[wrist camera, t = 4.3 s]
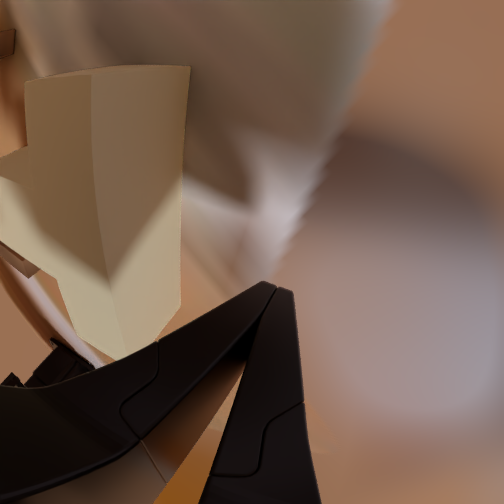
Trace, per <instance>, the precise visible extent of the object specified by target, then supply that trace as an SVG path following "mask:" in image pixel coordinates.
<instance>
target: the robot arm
mask: <svg viewBox="0 0 504 504" xmlns="http://www.w3.org/2000/svg"><path fill="white" fill-rule="evenodd" d="M49 342H50V344H51V345H52V347H53V349H54V350H53V351H52V352H51V353H50V355H48V357H46V359H45V360H44V361H43V362H42V363H41V364H40V365H39V366H38V367H37V368H36V369H35V370H34V372H33V375H32V376H31V377H30V378H29V379H28V381H27V382H26V383H25V384H24V385H23V384H22V383H21V382H20V379H19V378H18V377H17V376H15V375H14V374H13V373H12V372H11V373H10V375H9V376H8V377H7V378H6V379H5V380H4V381H3V382H2V383H1V384H0V504H153V502H154V501H155V500H156V498H157V497H158V496H159V494H160V493H161V492H162V490H163V489H164V487H165V486H166V485H167V484H166V483H168V482H169V481H170V479H171V478H172V476H173V475H174V474H175V472H176V471H177V469H178V468H179V467H180V465H181V464H182V462H183V461H184V459H185V458H186V457H187V455H188V454H189V452H190V451H191V450H192V448H193V447H194V445H195V444H196V442H197V441H198V439H199V438H200V436H201V435H202V433H203V432H204V431H205V429H206V428H207V426H208V425H209V423H210V422H211V420H212V419H213V417H214V416H215V414H216V413H217V411H218V410H219V408H220V406H221V405H222V403H223V402H224V400H225V399H226V397H227V396H228V394H229V393H230V391H231V389H232V388H233V386H234V385H235V383H236V382H237V380H238V378H239V377H240V375H241V374H242V372H243V374H242V377H241V381H240V384H239V387H238V390H237V393H236V396H235V399H234V402H233V405H232V408H231V411H230V414H229V417H228V420H227V423H226V426H225V429H224V432H223V435H222V438H221V441H220V444H219V447H218V450H217V453H216V456H215V458H214V461H213V464H212V467H211V470H210V473H209V477H208V478H207V481H206V484H205V487H204V490H203V492H202V495H201V497H200V500H199V503H198V504H322V503H321V499H320V494H319V489H318V484H317V480H316V476H315V471H314V466H313V461H312V457H311V450H310V445H309V440H308V431H307V422H306V412H305V404H304V403H303V402H304V390H303V379H302V369H301V358H300V349H299V340H298V329H297V320H296V312H295V302H294V294H293V292H292V291H290V290H288V289H285V288H282V287H278V288H277V286H276V285H274V284H271V283H268V282H266V281H261V282H259V283H257V284H256V285H254V286H252V287H250V288H249V289H247V290H245V291H244V292H242V293H240V294H238V295H237V296H235V297H233V298H232V299H230V300H228V301H226V302H225V303H223V304H221V305H219V306H218V307H216V308H214V309H212V310H211V311H209V312H207V313H205V314H204V315H202V316H200V317H198V318H197V319H195V320H193V321H191V322H189V323H188V324H186V325H184V326H182V327H181V328H179V329H177V330H175V331H173V332H172V333H170V334H168V335H166V336H164V337H163V338H161V339H159V340H158V342H157V341H155V342H153V343H151V344H149V345H148V346H146V347H144V348H142V349H140V350H138V351H136V352H134V353H132V354H130V355H128V356H126V357H124V358H122V359H119V360H117V361H115V362H112V363H110V364H108V365H105V366H103V367H100V368H98V369H95V370H94V369H93V368H92V367H91V366H90V365H89V364H87V363H86V362H84V361H83V360H81V359H80V358H79V357H77V356H76V355H75V354H73V353H72V352H70V351H69V350H68V349H66V348H65V347H64V346H63V345H61V344H60V343H59V342H57V341H56V340H55V339H54V338H52V337H51V338H50V339H49Z"/></svg>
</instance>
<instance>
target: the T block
mask: <svg viewBox="0 0 504 504" xmlns="http://www.w3.org/2000/svg"><path fill="white" fill-rule="evenodd" d="M190 71H191V66H179V65H118V66H108V67H100V68H93V69H86V70H79V71H73V72H67V73H62V74H57V75H52V76H47V77H43V78H38V79H34V80H30V81H26V82H24V101H25V121H26V134H27V144H28V146H25V147H23V148H21V149H19V150H16V151H14V152H12V153H10V154H8V155H6V156H3V157H1V158H0V241H1V242H3V243H4V244H6V245H7V246H8V247H10V248H11V249H12V250H14V251H15V252H17V253H18V254H20V255H21V256H22V257H24V258H25V259H27V260H28V261H30V262H31V263H33V264H34V265H36V266H37V267H39V268H40V269H42V270H43V271H45V272H46V273H48V274H49V275H51V276H52V277H54V278H56V279H57V282H58V285H59V288H60V291H61V294H62V297H63V300H64V303H65V305H66V308H67V311H68V313H69V316H70V318H71V321H72V324H73V326H74V328H75V331H76V333H77V336H78V337H80V338H81V339H83V340H84V341H86V342H87V343H89V344H90V345H92V346H94V347H95V348H97V349H98V350H100V351H102V352H103V353H105V354H106V355H108V356H110V357H111V358H113V359H115V360H116V361H117V360H119V359H122V358H124V357H126V356H128V355H130V354H132V353H134V352H136V351H138V350H140V349H142V348H144V347H146V346H148V345H149V344H151V343H153V341H154V340H155V339H156V337H157V336H158V335H159V334H160V332H161V331H162V330H163V328H164V327H165V326H166V325H167V323H168V322H169V321H170V319H171V318H172V317H173V316H174V314H175V313H176V312H177V310H178V309H179V308H180V307H181V293H180V227H181V192H182V170H183V152H184V137H185V124H186V112H187V100H188V90H189V81H190Z"/></svg>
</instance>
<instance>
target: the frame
mask: <svg viewBox="0 0 504 504" xmlns="http://www.w3.org/2000/svg"><path fill="white" fill-rule="evenodd" d="M14 37H15V29H13V30H7V31H2V32H0V59H1V58H3V57H6V56H9V55H11V54H13V51H14ZM0 256H1V257H2V258H4V259H5V260H6V261H7V262H8V263H10V264H11V265H12V266H13V267H15V268H16V269H17V270H18V271H20V272H21V273H22V274H23V275H25V276H26V277H27V278H28V279H29V278H30V277H31V276H32V275H34V274H35V273H36V272H37V271H39V270H40V268H39V267H37V266H36V265H34V264H33V263H31V262H30V261H28V260H27V259H25V258H24V257H22V256H21V255H20V254H18V253H17V252H15V251H14V250H12V249H11V248H10V247H8V246H7V245H6V244H4V243H3V242H1V241H0Z"/></svg>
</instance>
